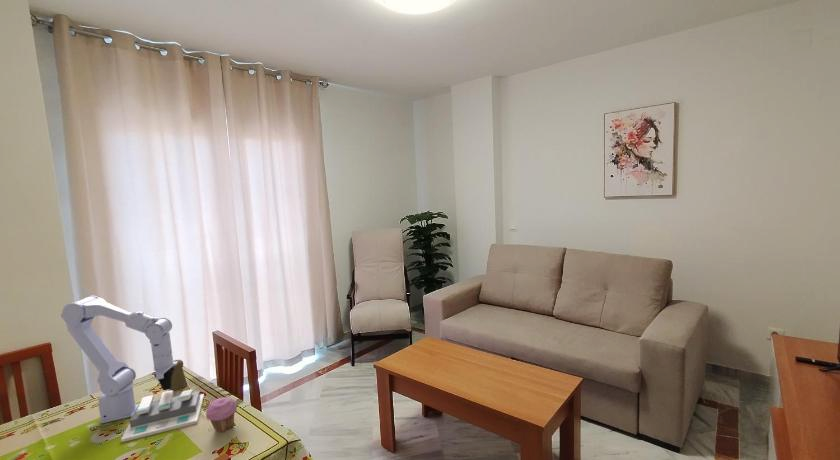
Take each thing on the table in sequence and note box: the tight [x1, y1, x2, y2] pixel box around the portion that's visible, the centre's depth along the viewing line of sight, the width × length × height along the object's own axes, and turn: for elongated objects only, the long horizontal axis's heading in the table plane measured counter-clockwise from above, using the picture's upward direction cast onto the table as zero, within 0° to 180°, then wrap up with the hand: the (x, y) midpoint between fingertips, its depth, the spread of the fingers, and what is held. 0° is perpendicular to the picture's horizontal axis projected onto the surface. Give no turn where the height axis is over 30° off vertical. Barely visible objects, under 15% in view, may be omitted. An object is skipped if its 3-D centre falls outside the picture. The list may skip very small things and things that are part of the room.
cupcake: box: [205, 396, 238, 433], centre depth 123 cm, size 9×9×10 cm
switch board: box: [120, 390, 205, 443], centre depth 130 cm, size 21×18×4 cm
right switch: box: [178, 388, 194, 402], centre depth 134 cm, size 3×8×2 cm, turn 23°
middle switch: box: [158, 390, 174, 411], centre depth 132 cm, size 3×8×2 cm, turn 24°
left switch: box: [136, 394, 155, 415], centre depth 129 cm, size 3×8×2 cm, turn 23°
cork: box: [169, 359, 188, 392], centre depth 150 cm, size 6×6×11 cm
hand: (167, 388), depth 134 cm, fingers closed
